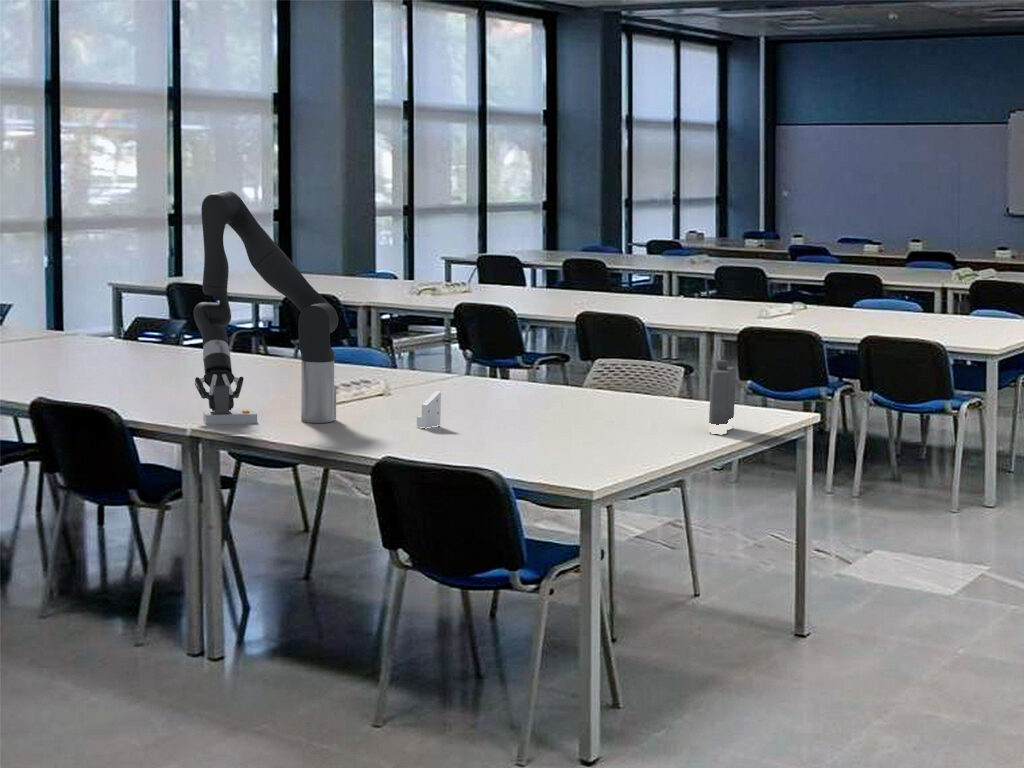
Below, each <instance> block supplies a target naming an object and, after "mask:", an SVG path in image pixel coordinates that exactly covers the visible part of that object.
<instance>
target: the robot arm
mask: <svg viewBox="0 0 1024 768" xmlns="http://www.w3.org/2000/svg"><path fill="white" fill-rule="evenodd" d="M200 211H201V212H200V213H201V223H202V237H203V238H202V239H203V253H204V254H203V255H204V256H203V257H204V258H203V261H204V262H203V276H202V292H203V294H205V295H206V296H209V297H213V298H216V299H218V301H219V302H211V301H209V302H207V301H202V302H199V303H197V304H196V305H195V307H194V309H193V319H194V322H195V324H196V326H197V328H198V330H199V333H200V335H201V338H202V348H203V349H202V362H203V368H204V376H203V377H195V378H194V380H195V381H194V386H195V388H196V390H197V392H198V393H199V395H200V397H201V399H203V400H205V399H207V400H208V408H209V409H210V410H211V411H214V409H215V403H214V396H213V393H214V392H213V386H215V385H228V386H229V411H232V409H234V405H235V401H234V399H238V398H239V397H240V394H241V391H242V388H243V384H244V376H239V377H236V376H235V375H234V374H233V369H232V360H231V352H230V347H229V341H228V339H229V338H228V333H227V330H226V329H225V328H226V327H228V326H229V325H230V323H231V320H232V312H231V308H230V303H229V297H228V296H229V295H228V284H229V273H230V272H229V270H230V269H229V260H228V257H227V254H226V250H225V247H224V235H225V234H224V233H225V228H226V225H228V226H229V227H230V228H231V229H232V230H233V231H234V232H235V233H236V234H237V236H238V237H239V238H240V240H241V241H242V243H243V245H244V249H245V251H246V255H247V257H248V260H249V261H248V262H249V263H250V265H251V266H252V268H253V269H254V270H255V271H256V273H257V274H258V275H259V276H260V277H261V278H262V280H263V281H264V282H266V283H267V284H268V285H269V286H270V287H271V288H272V289H274V290H276V291H277V292H278V293H279V294H281V295H282V296H284V297H286V298H287V299H288V300H289V301H290V302H291V303H292V304H293V305H294V306H296V308H297V309H298V311H299V312H300V314H299V317H298V322H297V323H298V331H297V333H298V349H299V352H300V356H301V363H300V364H301V366H300V367H301V372H300V373H301V375H300V377H301V382H300V383H301V389H300V391H301V393H300V394H301V397H300V398H301V402H300V403H301V404H300V405H301V406H300V411H301V412H300V413H301V414H300V416H301V417H300V420H301V422H304V423H310V424H323V423H324V424H325V423H331V422H334V421H335V420H337V387H336V386H335V350H333V348H332V347H331V336H330V335H331V334H332V333H333V332H335V330H336V329H337V327H338V325H339V316H338V312H337V310H336V309H335V308H334V306H333V305H332V304H330V303H329V302H328V301H327V300H326V299H325V298H324V297H323V296H322V295H321V294H320V293H319V292H318V291H317V290H316V289H315V288H314V287H313V286H312V285H311V284H310V282H308V280H307V279H306V278H305V277H304V275H303V274H302V273H301V271H300V270H299V269H298V268H297V267H296V266H295V264H294V263H293V262H292V261H291V260H290V258H289V256H287V254H286V253H285V252H284V251H283V250H282V248H281V247H279V246H278V245H277V243H276V242H275V241H274V240H273V238H271V237H270V235H269V234H268V233H267V232H266V230H265V229H264V228H263V227H262V226H261V224H259V223H258V221H257V220H256V218H255V217H254V215H253V214H252V213H251V211H250V210H249V208H248V207H247V205H246V204H245V202H244V201H243V199H242V198H241V197H240V196H239V195H238V194H237V193H235V192H234V191H231V190H222V191H216V192H213V193H209V194H208V195H207V196H205V198H203V200H202V203H201V210H200ZM233 382H234V385H235V386H236V387H235V389H234V391H233V389H232V387H231V385H232V384H233ZM204 383H205V384H206V385H207V386H208V387H209V391H207V390H206V388H205V386H204Z"/></svg>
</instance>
